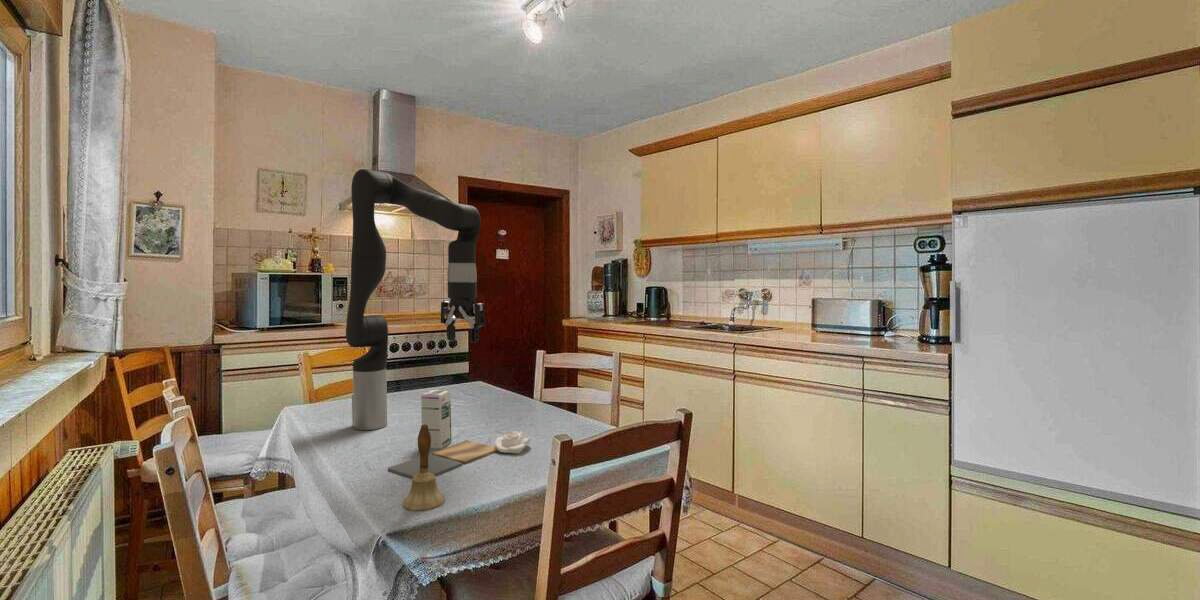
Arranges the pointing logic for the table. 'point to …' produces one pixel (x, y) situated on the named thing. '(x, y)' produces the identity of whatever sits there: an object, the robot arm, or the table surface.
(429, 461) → the dark slate pad
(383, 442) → the table surface
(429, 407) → the syrup box
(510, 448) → the rose
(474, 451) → the honey oak pad
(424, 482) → the hand bell
